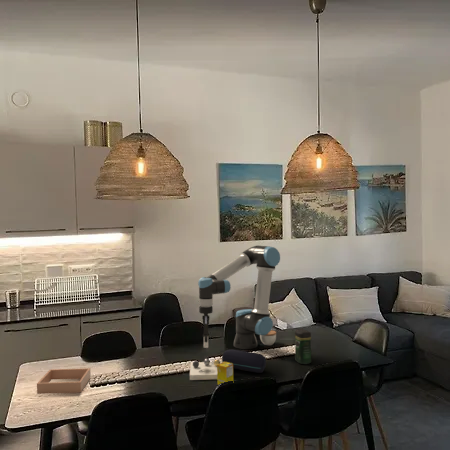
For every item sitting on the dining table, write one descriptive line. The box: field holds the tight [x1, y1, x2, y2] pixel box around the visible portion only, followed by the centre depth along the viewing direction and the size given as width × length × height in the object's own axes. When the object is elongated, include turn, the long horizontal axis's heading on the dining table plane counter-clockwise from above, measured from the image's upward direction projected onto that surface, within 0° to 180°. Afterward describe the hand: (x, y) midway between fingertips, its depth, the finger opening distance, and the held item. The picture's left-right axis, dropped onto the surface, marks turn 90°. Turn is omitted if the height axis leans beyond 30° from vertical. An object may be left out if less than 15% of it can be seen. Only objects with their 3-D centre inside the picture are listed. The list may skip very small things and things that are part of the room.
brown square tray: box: [36, 367, 91, 395], centre depth 241 cm, size 21×20×5 cm
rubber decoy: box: [192, 360, 200, 367], centre depth 258 cm, size 3×3×3 cm
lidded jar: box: [259, 329, 277, 346], centre depth 308 cm, size 11×11×9 cm
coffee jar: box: [294, 328, 312, 365], centre depth 272 cm, size 10×8×19 cm
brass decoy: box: [213, 359, 221, 366], centre depth 260 cm, size 3×3×3 cm
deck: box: [189, 361, 222, 381], centre depth 257 cm, size 20×18×2 cm
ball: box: [203, 358, 211, 365], centre depth 262 cm, size 3×3×3 cm
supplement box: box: [216, 361, 234, 386], centre depth 238 cm, size 6×6×11 cm
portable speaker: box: [221, 348, 267, 374], centre depth 261 cm, size 25×10×10 cm, turn 60°
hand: (205, 347), depth 270 cm, fingers closed
